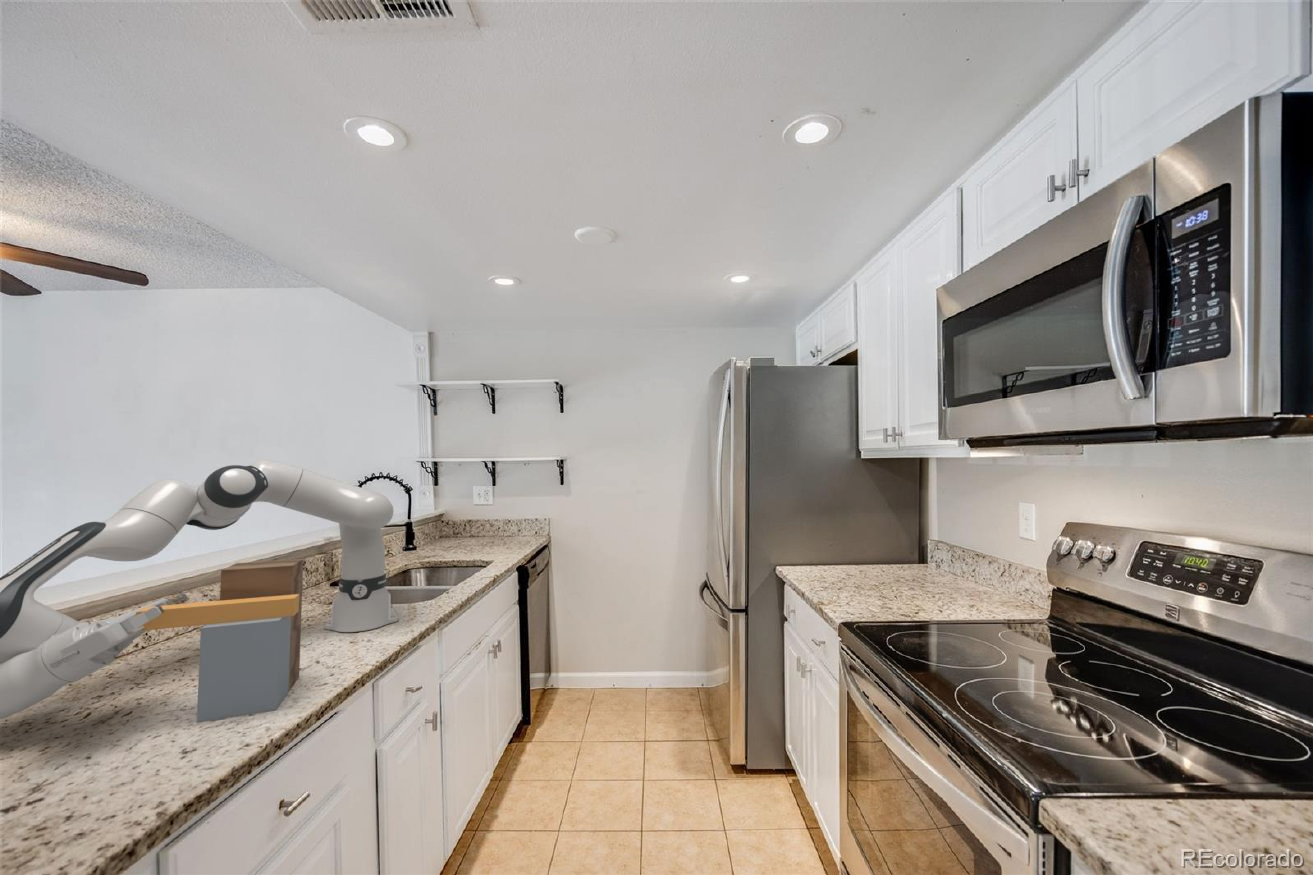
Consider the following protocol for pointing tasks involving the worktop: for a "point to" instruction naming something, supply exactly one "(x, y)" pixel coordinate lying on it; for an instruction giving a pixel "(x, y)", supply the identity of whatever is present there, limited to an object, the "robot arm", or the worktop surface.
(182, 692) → the worktop surface
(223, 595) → the walnut stand
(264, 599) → the orange block
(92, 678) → the worktop surface
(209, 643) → the slate block
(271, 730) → the worktop surface
